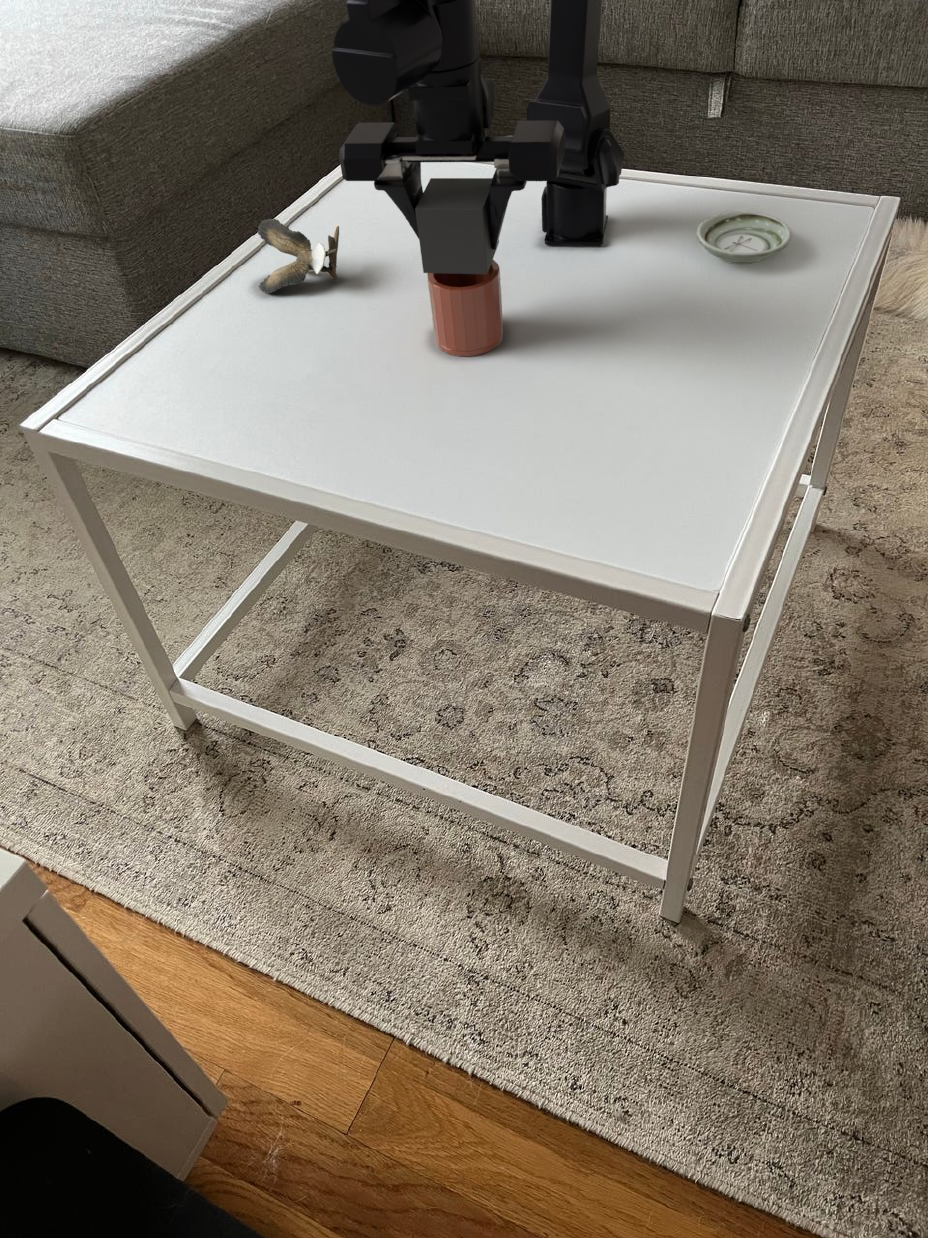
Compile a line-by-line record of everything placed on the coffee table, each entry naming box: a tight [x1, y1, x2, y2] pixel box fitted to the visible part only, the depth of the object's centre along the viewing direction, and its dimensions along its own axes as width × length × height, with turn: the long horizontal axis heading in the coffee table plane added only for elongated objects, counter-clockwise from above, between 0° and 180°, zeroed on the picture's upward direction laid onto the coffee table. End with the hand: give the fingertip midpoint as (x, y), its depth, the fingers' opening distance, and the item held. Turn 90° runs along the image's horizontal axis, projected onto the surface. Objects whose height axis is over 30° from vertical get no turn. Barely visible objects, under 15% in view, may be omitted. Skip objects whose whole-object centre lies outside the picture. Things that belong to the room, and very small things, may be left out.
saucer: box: [695, 210, 793, 265], centre depth 98 cm, size 10×10×2 cm
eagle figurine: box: [257, 218, 340, 294], centre depth 101 cm, size 8×7×9 cm
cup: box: [426, 259, 504, 357], centre depth 90 cm, size 7×7×7 cm
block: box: [415, 177, 500, 274], centre depth 84 cm, size 6×6×6 cm
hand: (461, 246), depth 86 cm, fingers closed on block, 6 cm apart
